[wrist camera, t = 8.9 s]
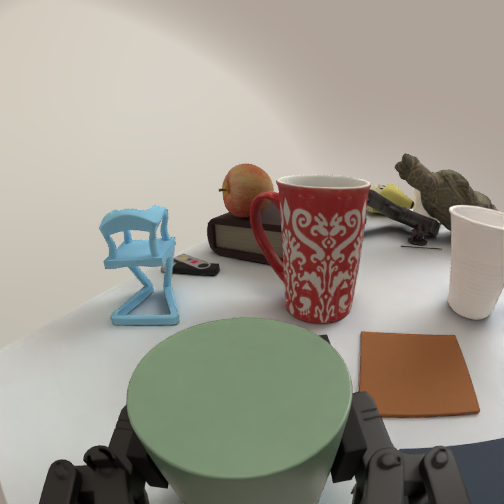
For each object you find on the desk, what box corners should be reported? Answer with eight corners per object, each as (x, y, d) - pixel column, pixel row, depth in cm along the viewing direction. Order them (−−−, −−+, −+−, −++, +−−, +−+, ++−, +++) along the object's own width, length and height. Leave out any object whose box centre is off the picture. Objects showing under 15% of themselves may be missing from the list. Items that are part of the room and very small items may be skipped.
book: (284, 213, 70) (284, 188, 68) (366, 222, 60) (367, 195, 58) (209, 252, 48) (205, 217, 46) (326, 274, 38) (328, 231, 36)
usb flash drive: (214, 269, 39) (215, 276, 40) (226, 254, 44) (227, 260, 44) (159, 267, 41) (160, 273, 42) (175, 253, 46) (176, 258, 46)
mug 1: (369, 296, 32) (379, 178, 27) (343, 339, 26) (356, 190, 21) (277, 274, 39) (274, 171, 35) (234, 305, 33) (224, 181, 28)
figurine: (442, 249, 43) (445, 227, 42) (400, 246, 46) (403, 223, 44) (434, 239, 48) (437, 219, 47) (396, 236, 51) (398, 215, 49)
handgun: (393, 208, 40) (341, 192, 50) (438, 239, 50) (395, 222, 60) (399, 191, 40) (346, 178, 50) (443, 225, 50) (399, 210, 60)
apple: (283, 213, 40) (228, 207, 37) (257, 224, 47) (209, 220, 44) (281, 159, 41) (229, 150, 38) (256, 177, 48) (210, 171, 45)
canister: (325, 462, 13) (356, 326, 10) (299, 558, 7) (337, 503, 4) (219, 442, 15) (188, 306, 11) (175, 524, 9) (83, 421, 6)
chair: (189, 287, 37) (177, 193, 33) (178, 325, 29) (158, 209, 25) (133, 289, 37) (116, 200, 32) (111, 325, 29) (84, 217, 25)
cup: (469, 283, 32) (483, 204, 28) (516, 318, 23) (541, 228, 19) (418, 295, 31) (431, 205, 27) (468, 340, 22) (497, 232, 18)
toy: (367, 181, 74) (417, 175, 62) (374, 204, 76) (422, 201, 65) (344, 197, 67) (400, 192, 55) (351, 223, 69) (406, 222, 58)
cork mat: (454, 337, 23) (455, 334, 23) (478, 413, 14) (480, 410, 14) (361, 333, 26) (361, 331, 26) (357, 415, 17) (358, 413, 17)
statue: (479, 256, 52) (391, 215, 45) (469, 223, 57) (381, 176, 50) (515, 232, 42) (435, 174, 36) (500, 197, 47) (417, 135, 41)
